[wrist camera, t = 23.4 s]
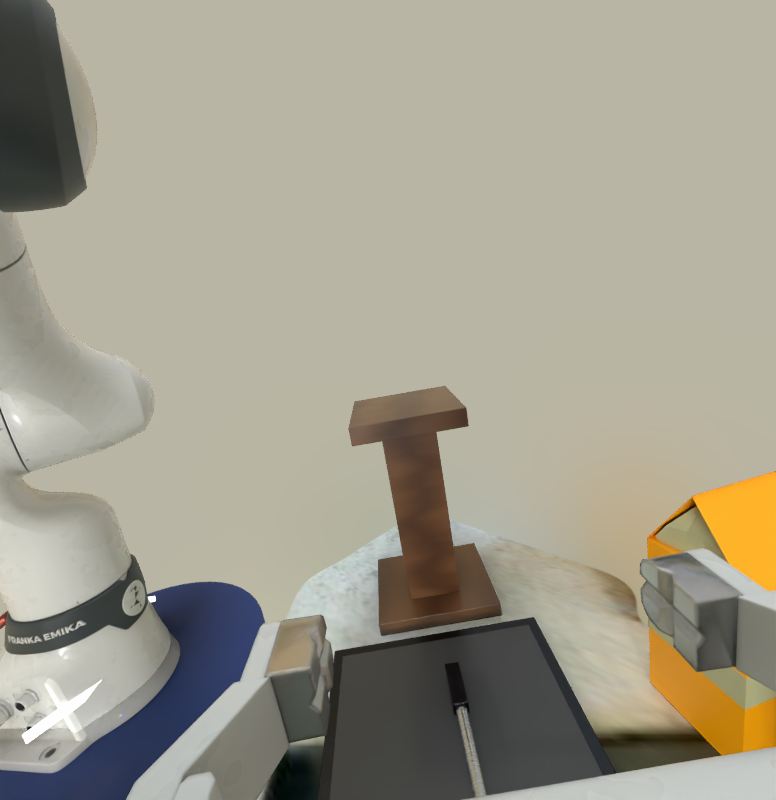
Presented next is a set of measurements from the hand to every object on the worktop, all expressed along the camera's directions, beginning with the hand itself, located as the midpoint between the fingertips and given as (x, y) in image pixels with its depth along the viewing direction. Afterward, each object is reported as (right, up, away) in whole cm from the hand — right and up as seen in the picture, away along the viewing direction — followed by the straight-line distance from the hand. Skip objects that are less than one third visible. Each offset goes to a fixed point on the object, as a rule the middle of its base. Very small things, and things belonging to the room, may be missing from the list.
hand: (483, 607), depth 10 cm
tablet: (+3, -23, +23) cm, 33 cm away
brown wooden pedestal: (+4, -19, +40) cm, 45 cm away
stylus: (+4, -23, +20) cm, 30 cm away
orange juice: (+26, -20, +22) cm, 39 cm away
